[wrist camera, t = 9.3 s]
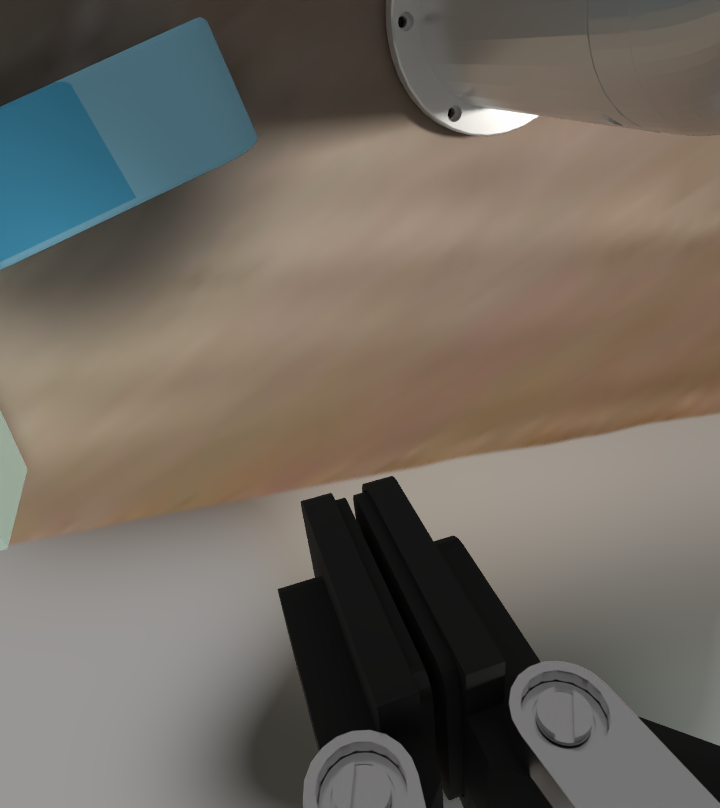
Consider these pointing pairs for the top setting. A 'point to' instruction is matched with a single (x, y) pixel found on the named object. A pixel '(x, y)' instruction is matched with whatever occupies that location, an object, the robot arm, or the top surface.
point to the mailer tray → (9, 482)
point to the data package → (116, 137)
